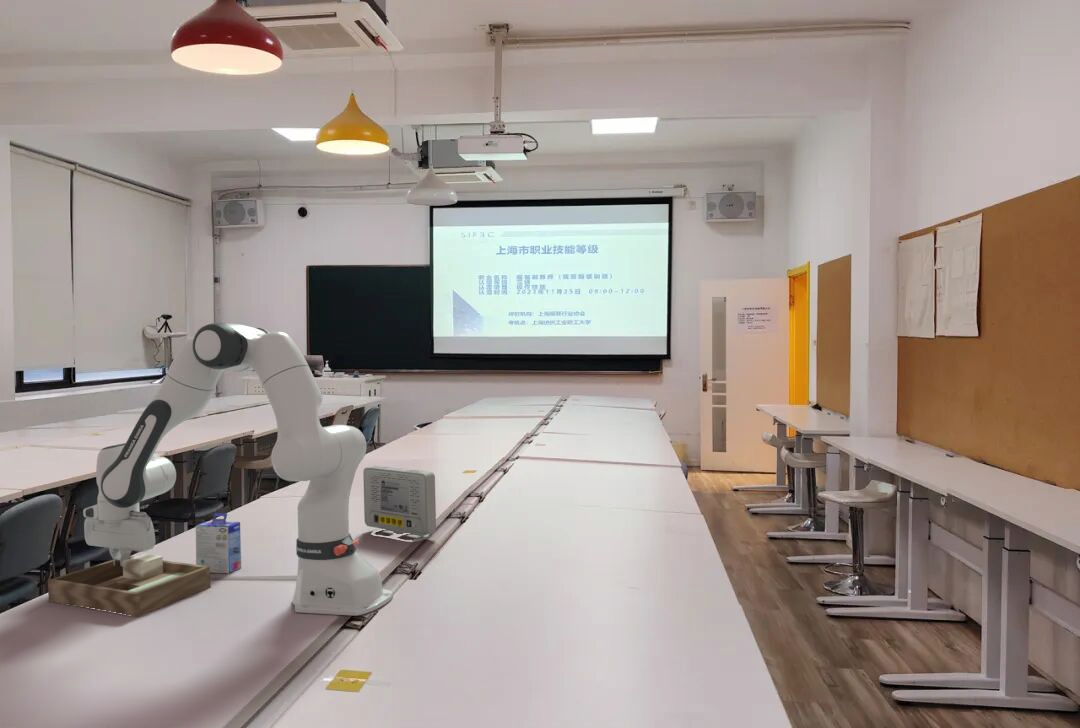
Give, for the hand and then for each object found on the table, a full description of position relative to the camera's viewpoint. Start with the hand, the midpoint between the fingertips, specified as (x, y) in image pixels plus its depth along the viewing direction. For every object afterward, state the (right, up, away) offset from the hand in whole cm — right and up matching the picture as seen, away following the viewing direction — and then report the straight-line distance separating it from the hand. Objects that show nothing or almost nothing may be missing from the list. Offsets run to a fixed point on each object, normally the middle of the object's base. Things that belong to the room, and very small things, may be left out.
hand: (121, 565), depth 178 cm
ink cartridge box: (+20, -4, +10) cm, 22 cm away
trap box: (+7, -5, -7) cm, 11 cm away
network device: (+60, -2, +40) cm, 73 cm away
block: (+7, -2, -3) cm, 8 cm away
